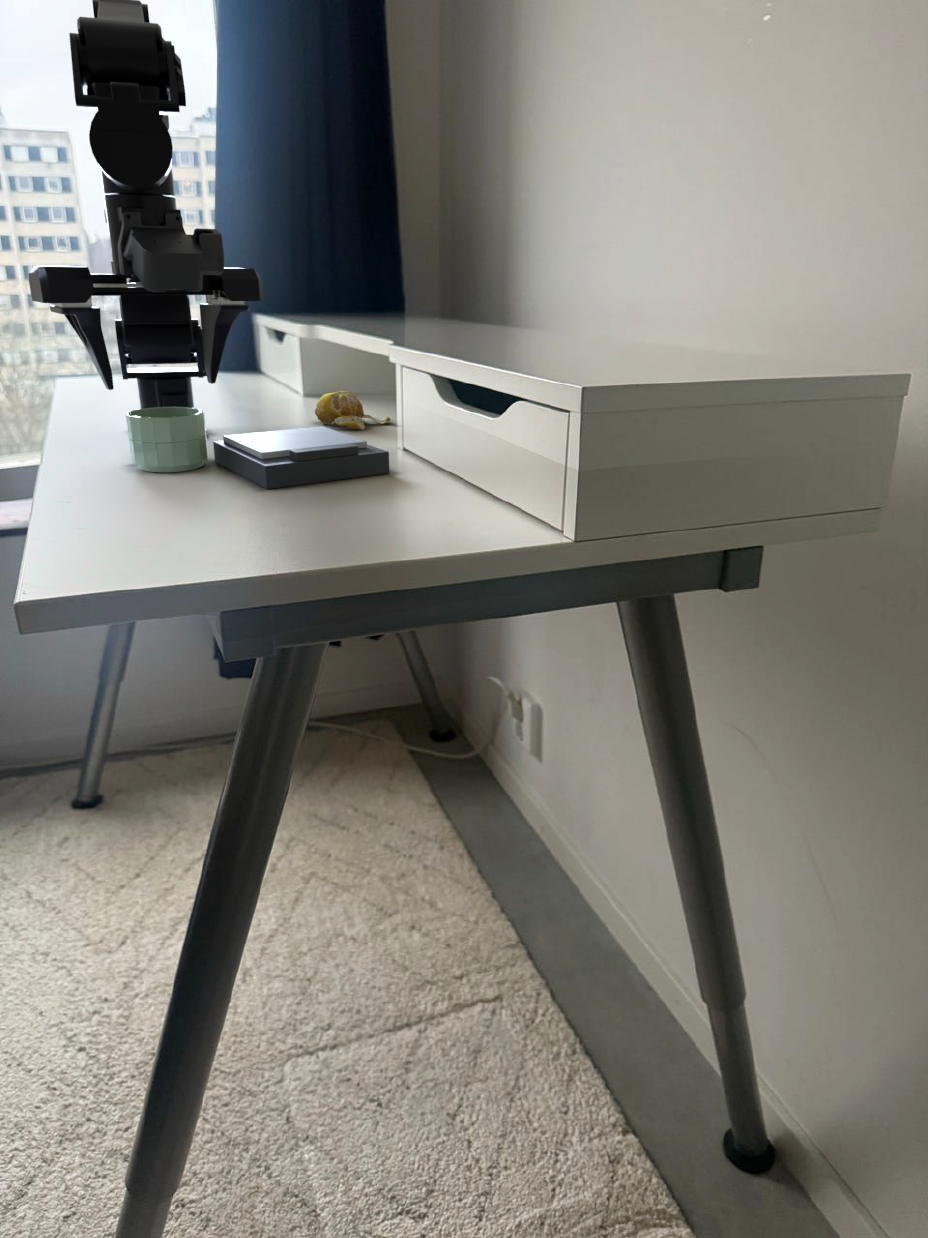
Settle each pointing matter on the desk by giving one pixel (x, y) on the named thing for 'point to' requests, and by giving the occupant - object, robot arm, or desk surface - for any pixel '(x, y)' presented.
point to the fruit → (343, 410)
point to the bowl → (167, 438)
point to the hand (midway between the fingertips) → (162, 385)
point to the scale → (299, 456)
